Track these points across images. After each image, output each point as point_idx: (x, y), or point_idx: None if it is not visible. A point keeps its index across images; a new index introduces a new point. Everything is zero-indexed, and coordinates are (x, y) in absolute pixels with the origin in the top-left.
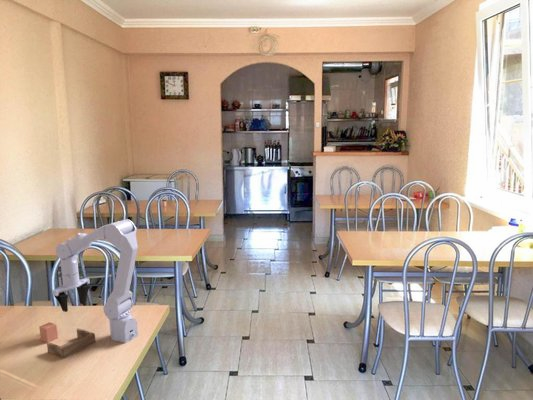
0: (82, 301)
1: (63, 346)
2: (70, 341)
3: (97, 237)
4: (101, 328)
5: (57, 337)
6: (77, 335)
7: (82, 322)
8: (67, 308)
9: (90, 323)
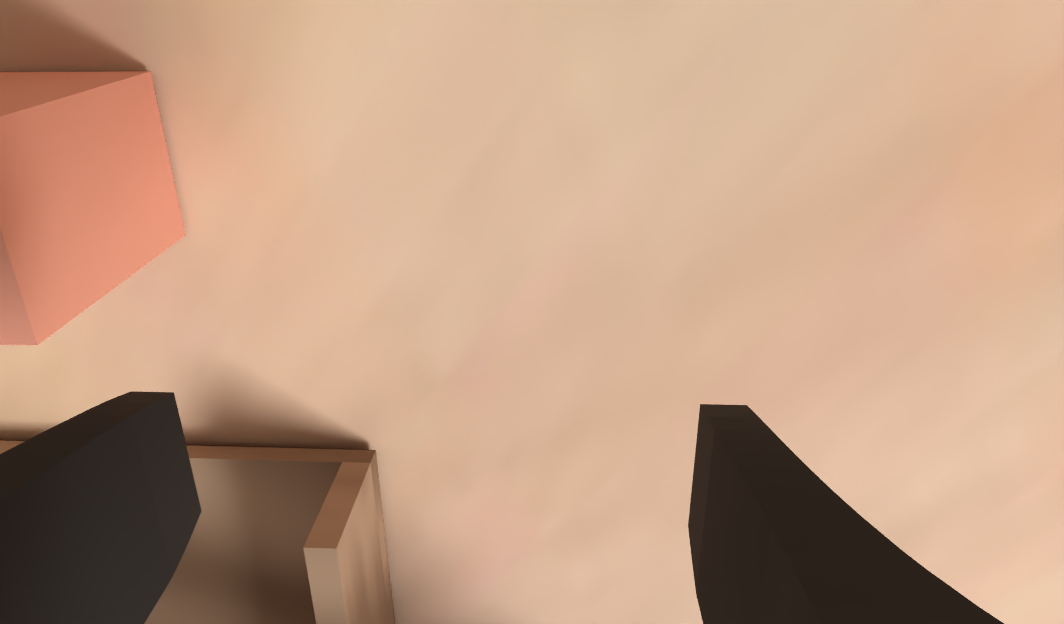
0: (703, 555)
1: None
2: (237, 461)
3: None
4: None
5: (163, 246)
6: (332, 489)
7: (775, 36)
8: (157, 591)
9: (792, 198)
